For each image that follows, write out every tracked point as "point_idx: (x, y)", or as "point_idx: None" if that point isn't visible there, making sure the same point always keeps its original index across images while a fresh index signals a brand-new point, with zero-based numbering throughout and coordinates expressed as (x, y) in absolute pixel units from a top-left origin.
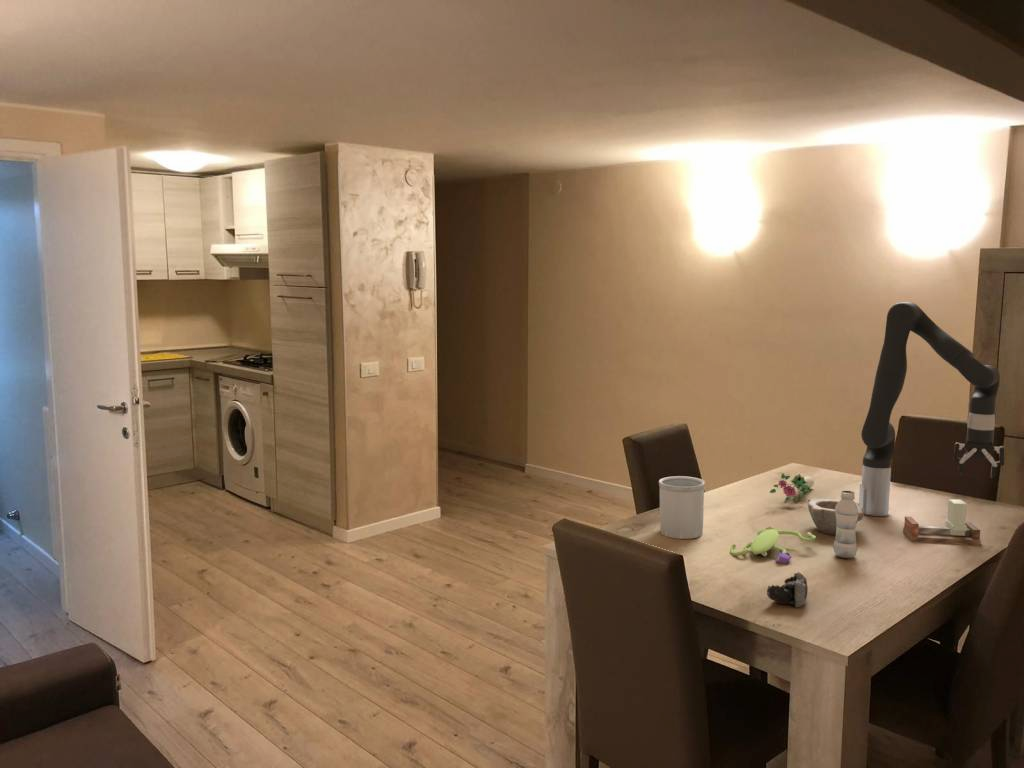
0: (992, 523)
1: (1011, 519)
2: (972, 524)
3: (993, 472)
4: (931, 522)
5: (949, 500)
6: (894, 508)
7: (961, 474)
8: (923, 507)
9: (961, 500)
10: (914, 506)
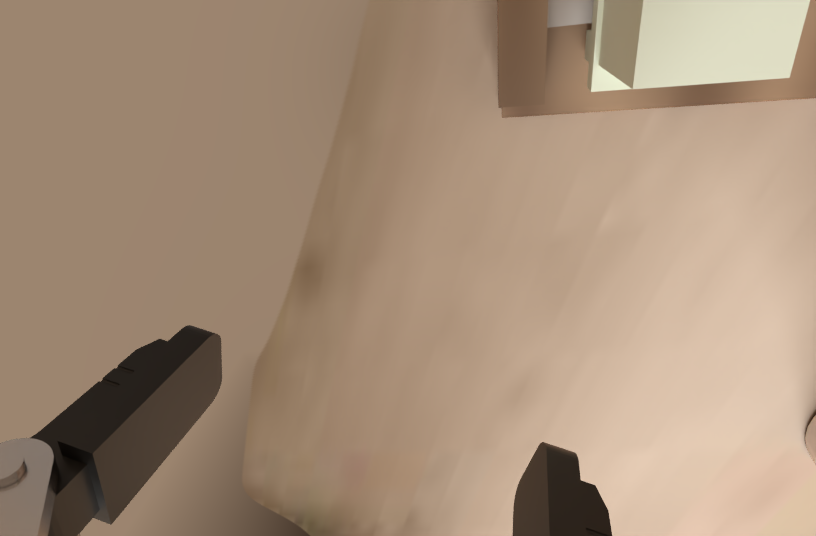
0: (340, 326)
1: (265, 379)
2: (504, 56)
3: (138, 372)
4: (624, 310)
5: (795, 43)
6: (711, 489)
7: (565, 451)
8: None
9: (642, 52)
10: None
